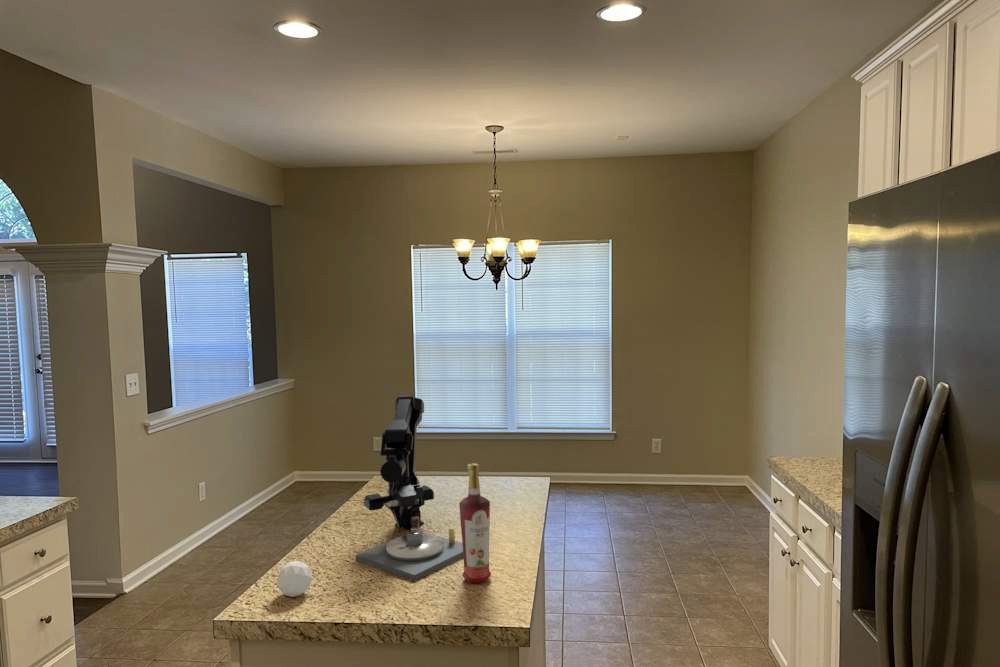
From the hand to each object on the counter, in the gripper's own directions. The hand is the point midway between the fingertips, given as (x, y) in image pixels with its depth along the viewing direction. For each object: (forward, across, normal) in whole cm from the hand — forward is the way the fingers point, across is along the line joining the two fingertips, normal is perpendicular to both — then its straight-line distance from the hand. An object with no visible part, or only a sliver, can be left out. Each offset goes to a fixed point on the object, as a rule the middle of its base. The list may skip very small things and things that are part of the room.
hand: (400, 527), depth 180 cm
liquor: (+5, +8, -33) cm, 34 cm away
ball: (+5, -32, -17) cm, 37 cm away
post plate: (+4, 0, -11) cm, 12 cm away
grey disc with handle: (+3, +1, -8) cm, 9 cm away
